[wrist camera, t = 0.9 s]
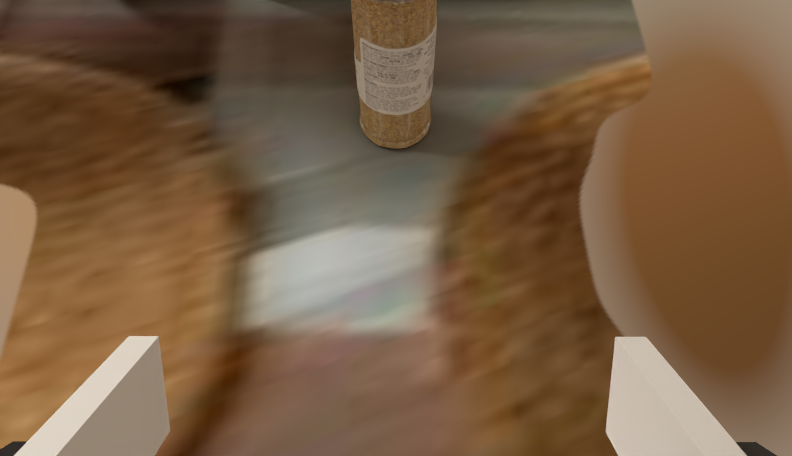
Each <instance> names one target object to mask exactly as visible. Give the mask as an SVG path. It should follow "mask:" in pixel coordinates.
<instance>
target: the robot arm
mask: <svg viewBox="0 0 792 456" xmlns="http://www.w3.org/2000/svg"><path fill="white" fill-rule="evenodd" d="M169 431H170V426H169V417H168V409H167V401H166V393H165V384H164V376H163V368H162V359H161V351H160V343H159V336H129V337H128V338H127V339H126V340H125V341H124V342H123V343H122V344H121V345H120V346H119V347H118V348H117V349H116V350H115V351H114V352H113V353H112V354H111V355H110V356H109V357H108V358H107V359H106V360H105V361H104V362H103V364H102V365H101V366H100V367H99V368H98V369H97V370H96V371H95V372H94V373H93V374H92V375H91V376H90V377H89V378H88V379H87V380H86V381H85V382H84V383H83V384H82V385H81V386H80V387H79V388H78V389H77V391H76V392H75V393H74V394H73V395H72V396H71V397H70V398H69V399H68V400H67V401H66V402H65V403H64V404H63V405H62V406H61V407H60V408H59V409H58V410H57V411H56V412H55V413H54V414H53V415H52V416H51V418H50V419H49V420H48V421H47V422H46V423H45V424H44V425H43V426H42V427H41V428H40V429H39V430H38V431H37V432H36V433H35V434H34V435H33V436H32V437H31V438H30V439H29V440H28V441H27V442H12V443H10V444H8V445H7V446H5V447H4V448H2V449H0V456H155V454H156V453H157V451H158V449H159V448H160V446H161V444H162V443H163V441H164V440H165V438H166V436H167V435H168V433H169ZM606 433H607V435H608V437H609V439H610V441H611V443H612V445H613V447H614V448H615V450H616V452H617V454H618V456H776V455H775V454H773V453H772V452H770V451H769V450H767V449H765V448H764V447H763V446H761V445H759V444H758V443H756V442H735V441H734V440H733V439H732V438H731V436H730V435H729V434H728V433H727V432H726V431H725V429H724V428H723V427H722V426H721V425H720V423H719V422H718V421H717V420H716V419H715V418H714V416H713V415H712V414H711V413H710V412H709V411H708V409H707V408H706V407H705V406H704V405H703V403H702V402H701V401H700V400H699V399H698V398H697V396H696V395H695V394H694V393H693V392H692V391H691V389H690V388H689V387H688V386H687V385H686V383H685V382H684V381H683V380H682V379H681V378H680V376H679V375H678V374H677V373H676V372H675V371H674V369H673V368H672V367H671V366H670V365H669V363H668V362H667V361H666V360H665V359H664V358H663V356H662V355H661V354H660V353H659V352H658V351H657V349H656V348H655V347H654V346H653V345H652V343H651V342H650V341H649V340H648V339H647V338H646V337H615V346H614V356H613V365H612V375H611V385H610V394H609V404H608V414H607V423H606Z"/></svg>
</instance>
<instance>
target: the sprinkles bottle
mask: <svg viewBox="0 0 792 456" xmlns="http://www.w3.org/2000/svg"><path fill="white" fill-rule="evenodd" d="M436 8H437V0H351V9H352V22H353V33H354V45H355V48H354V58H355V70H356V80H357V89H358V93H359V100H360V111H361V112H360V126H361V128H362V131H363V132H364V134H365V135H366V136H367V137H368V138H369V139H370V140H371V141H372V142H374V143H375V144H377V145H379V146H383V147H387V148H395V149H399V148H407V147H409V146H411V145H414V144H415V143H417V142H419V141H420V140H421V139H422V138H423V137H424V136H425V135H426V134H427V132H428V130H429V128H430V123H431V113H430V97H431V93H432V88H433V73H434V59H435V43H436V28H437V15H436Z"/></svg>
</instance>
